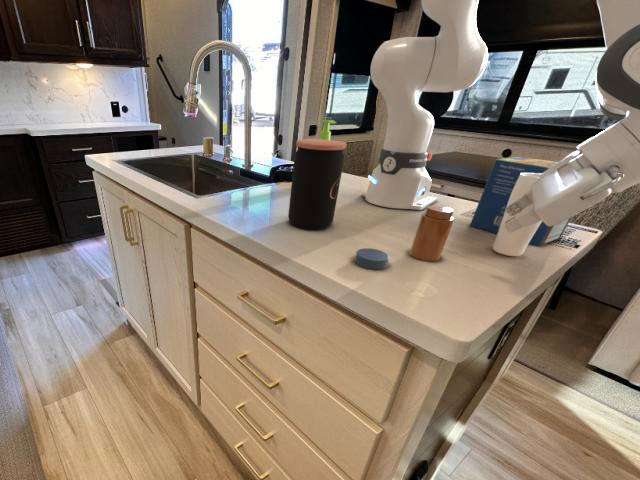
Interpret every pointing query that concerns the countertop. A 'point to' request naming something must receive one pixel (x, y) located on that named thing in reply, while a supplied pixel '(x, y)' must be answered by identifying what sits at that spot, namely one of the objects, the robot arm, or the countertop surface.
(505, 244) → the drinking glass
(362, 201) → the countertop surface
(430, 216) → the jam jar
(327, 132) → the soap dispenser
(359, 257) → the jam lid
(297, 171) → the coffee jar
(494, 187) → the protein box
